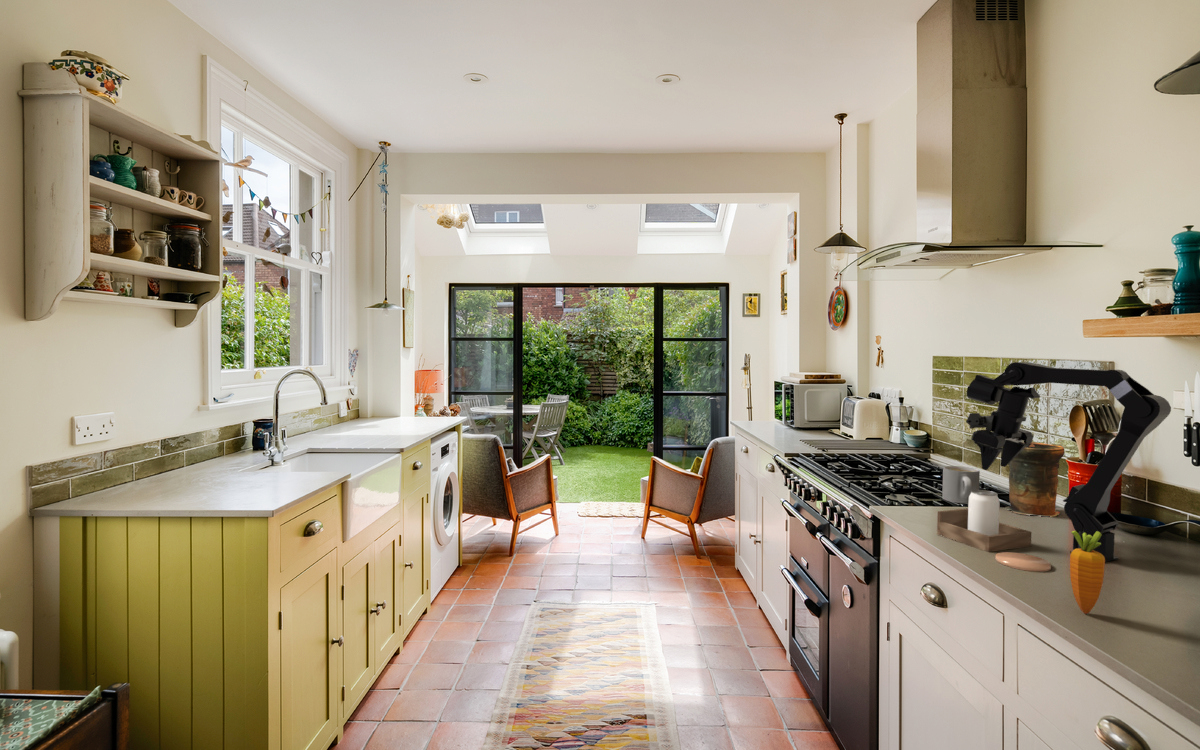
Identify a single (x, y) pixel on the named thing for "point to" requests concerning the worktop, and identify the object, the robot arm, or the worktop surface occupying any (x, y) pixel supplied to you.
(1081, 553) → the carrot
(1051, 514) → the vessel
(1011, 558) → the saucer
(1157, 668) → the worktop surface
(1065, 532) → the worktop surface
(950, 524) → the open wooden tray
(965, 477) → the coffee mug
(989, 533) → the can
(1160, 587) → the worktop surface
